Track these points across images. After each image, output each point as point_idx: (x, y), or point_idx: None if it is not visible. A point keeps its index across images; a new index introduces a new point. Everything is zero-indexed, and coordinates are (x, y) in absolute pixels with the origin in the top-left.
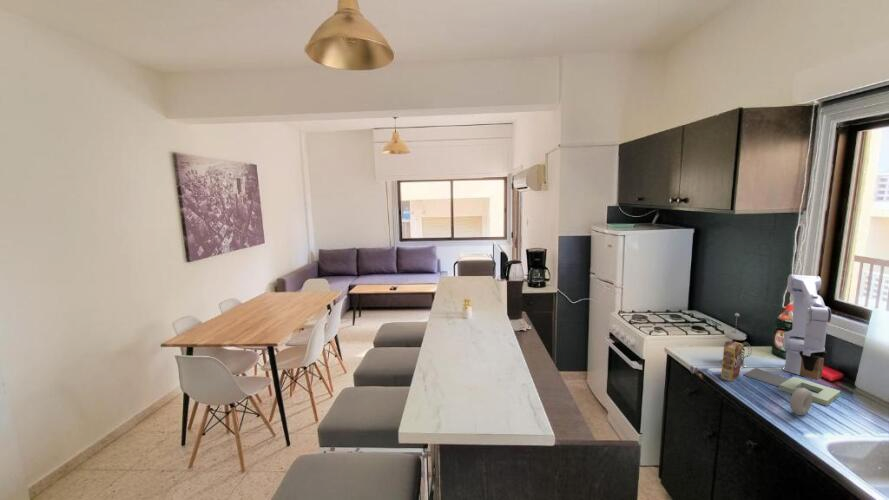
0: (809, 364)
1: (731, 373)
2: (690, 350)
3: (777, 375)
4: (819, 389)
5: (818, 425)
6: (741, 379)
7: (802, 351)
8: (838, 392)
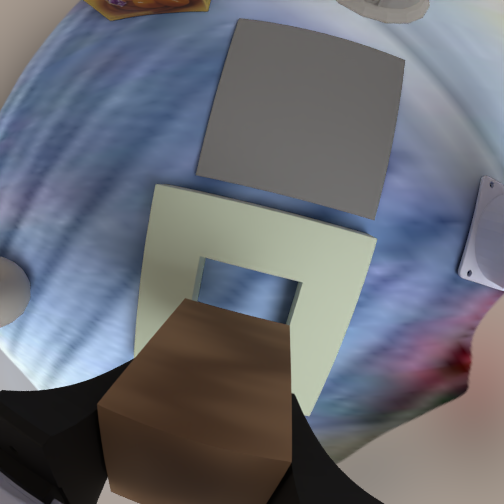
0: None
1: (88, 2)
2: None
3: (376, 158)
4: None
5: None
6: (170, 31)
7: (32, 451)
8: None
